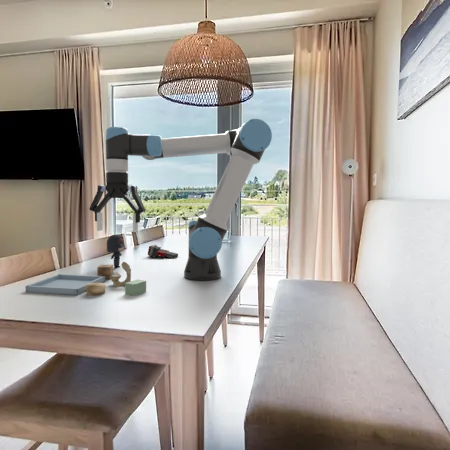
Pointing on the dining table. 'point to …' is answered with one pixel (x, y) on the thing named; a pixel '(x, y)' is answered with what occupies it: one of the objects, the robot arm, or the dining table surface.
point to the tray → (64, 284)
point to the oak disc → (95, 289)
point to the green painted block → (135, 287)
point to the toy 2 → (160, 252)
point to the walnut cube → (104, 271)
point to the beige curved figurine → (116, 276)
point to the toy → (115, 248)
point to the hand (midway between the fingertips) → (117, 231)
